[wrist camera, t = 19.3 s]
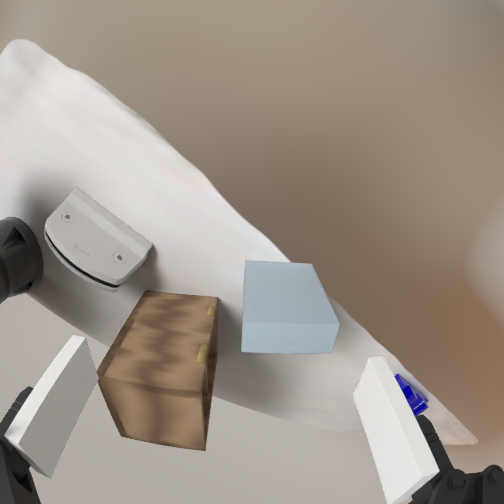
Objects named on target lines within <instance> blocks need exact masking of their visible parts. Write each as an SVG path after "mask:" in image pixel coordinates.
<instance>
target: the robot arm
mask: <svg viewBox="0 0 504 504" xmlns="http://www.w3.org/2000/svg"><path fill="white" fill-rule="evenodd" d="M42 271H43V262H42V256H41V251H40V248H39V245H38V243H37V240H36V238H35V236H34V235H33V233H32V231H31V230H30V229H29V227H28V226H27V225H26V224H25V223H24V222H22V221H21V220H20V219H18V218H15V217H7V218H5V219H3V220H0V304H1V303H2V302H3V301H4V300H5V299H7V298H8V297H12V296H16V295H19V294H23V293H27V292H29V291H30V290H32V289H33V288H34V287H35V286H36V285H37V284H38V283H39V281H40V279H41V276H42ZM98 379H99V377H98V374H97V372H96V369H95V366H94V363H93V360H92V357H91V354H90V350H89V347H88V344H87V341H86V337H82V336H77V335H72V337H71V338H70V339H69V340H68V342H67V343H66V344H65V346H64V347H63V348H62V350H61V351H60V353H59V354H58V355H57V356H56V358H55V359H54V361H53V362H52V363H51V365H50V366H49V368H48V369H47V370H46V372H45V373H44V375H43V376H42V377H41V379H40V380H39V382H38V383H37V385H36V386H35V388H32V387H27V388H26V389H25V390H23V391H22V392H21V393H20V394H19V396H18V397H17V399H16V400H15V402H14V403H13V404H12V406H11V409H9V411H8V412H7V414H6V415H5V417H4V418H3V420H2V422H1V423H0V504H41V502H40V500H39V497H38V494H37V491H36V488H35V485H34V482H33V478H32V475H31V473H30V471H29V468H30V466H32V467H33V468H34V469H35V470H36V471H37V472H38V473H40V474H42V475H44V476H46V477H48V478H50V479H51V477H52V475H53V472H54V470H55V467H56V465H57V463H58V461H59V458H60V456H61V454H62V452H63V449H64V447H65V445H66V443H67V441H68V439H69V436H70V434H71V432H72V430H73V428H74V426H75V424H76V422H77V420H78V418H79V416H80V414H81V412H82V410H83V408H84V406H85V404H86V402H87V400H88V398H89V396H90V394H91V392H92V390H93V388H94V386H95V385H96V383H97V381H98ZM353 398H354V401H355V404H356V406H357V409H358V412H359V415H360V418H361V421H362V424H363V427H364V430H365V433H366V436H367V439H368V442H369V445H370V448H371V451H372V454H373V458H374V461H375V464H376V467H377V470H378V474H379V477H380V480H381V484H382V487H383V490H384V494H385V497H386V501H387V504H396V503H400V502H403V501H405V500H406V499H408V497H410V496H412V499H413V500H412V501H411V502H410V503H409V504H504V471H503V470H502V468H501V467H499V466H498V465H490V466H488V467H487V468H486V469H485V470H484V471H482V472H478V473H469V474H465V473H464V472H463V471H461V470H459V469H454V468H453V466H452V464H451V462H450V460H449V458H448V456H447V454H446V451H445V450H444V448H443V445H442V443H441V441H440V440H439V437H438V435H437V433H435V432H436V431H435V429H434V427H433V425H432V423H431V422H430V421H429V420H428V419H427V418H426V417H425V416H424V415H419V416H414V414H413V412H412V410H411V408H410V406H409V404H408V402H407V400H406V398H405V396H404V394H403V392H402V390H401V388H400V386H399V384H398V383H397V381H396V379H395V377H394V375H393V373H392V371H391V369H390V367H389V366H388V364H387V362H386V360H385V358H384V356H376V357H369V359H368V361H367V364H366V366H365V369H364V371H363V374H362V376H361V379H360V381H359V383H358V386H357V388H356V390H355V393H354V395H353Z"/></svg>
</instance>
